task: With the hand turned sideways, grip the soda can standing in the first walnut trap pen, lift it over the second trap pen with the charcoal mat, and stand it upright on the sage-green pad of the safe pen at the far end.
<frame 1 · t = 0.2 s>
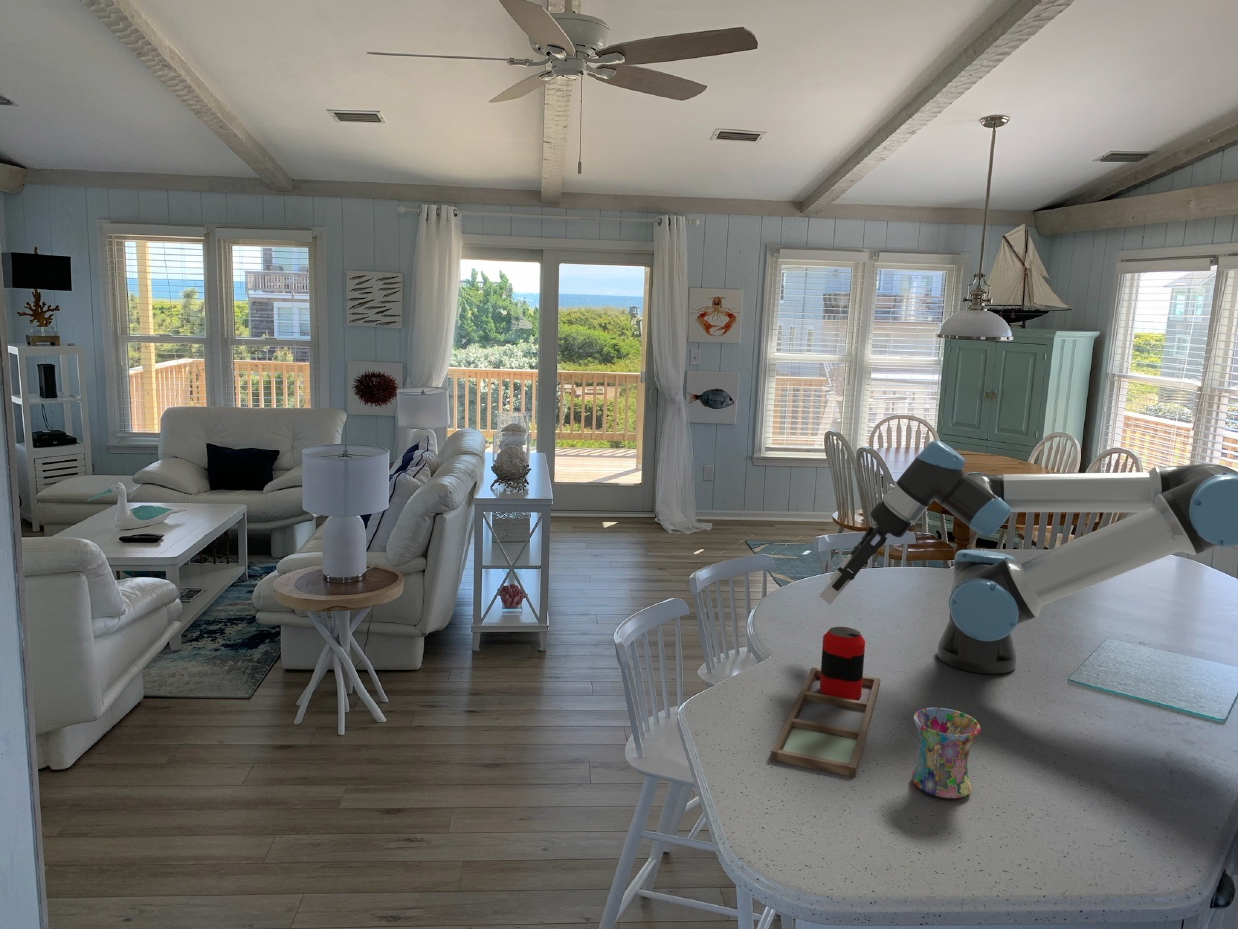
hand: (829, 590, 177), 15 cm above the table, tool tilted 35°, fingers open, 13 cm apart
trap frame: (830, 719, 153), on the table
mug: (938, 792, 131), on the table
soda can: (840, 694, 164), resting in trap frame
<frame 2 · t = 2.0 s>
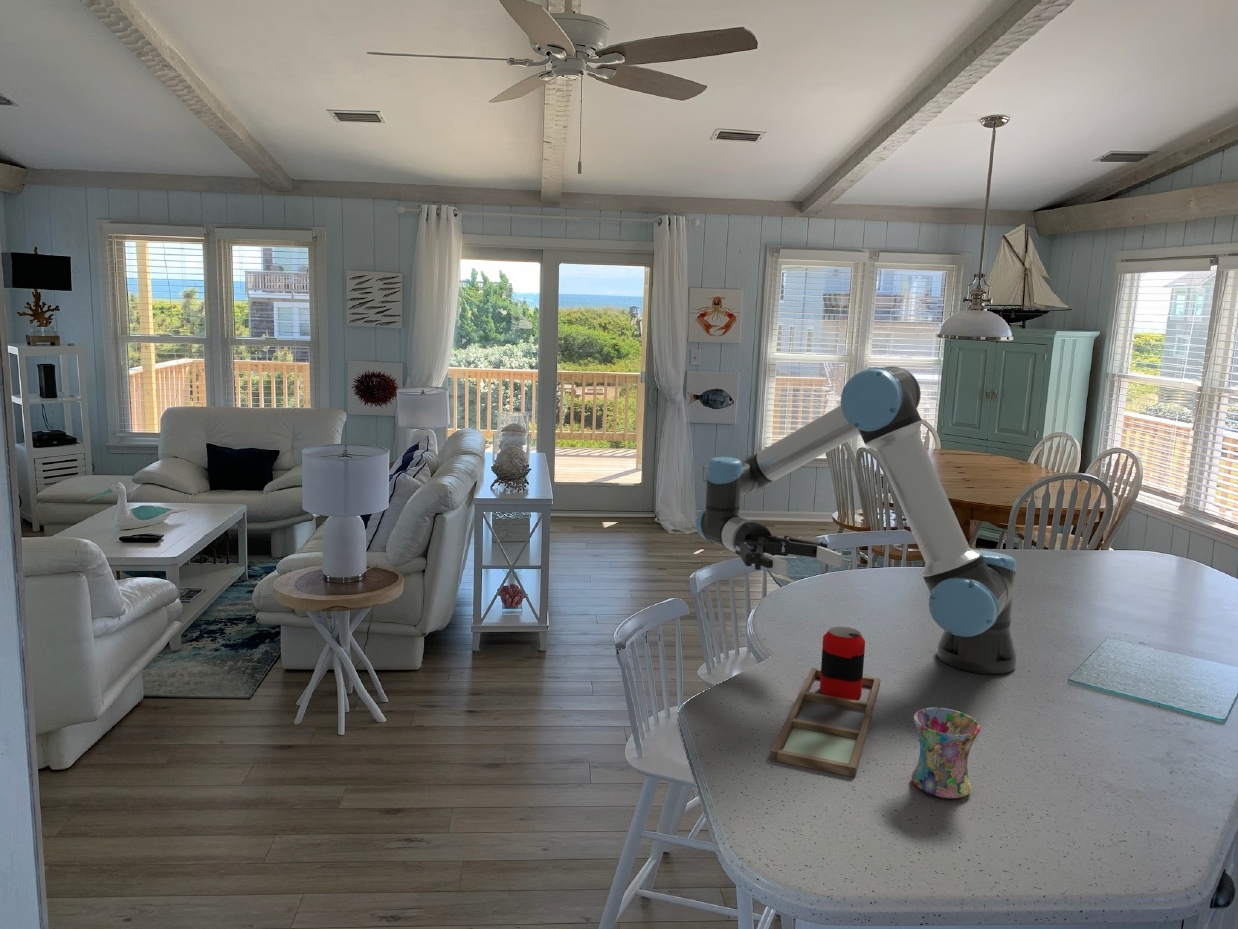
hand: (813, 564, 169), 22 cm above the table, tool horizontal, fingers open, 13 cm apart
nothing on the table moved.
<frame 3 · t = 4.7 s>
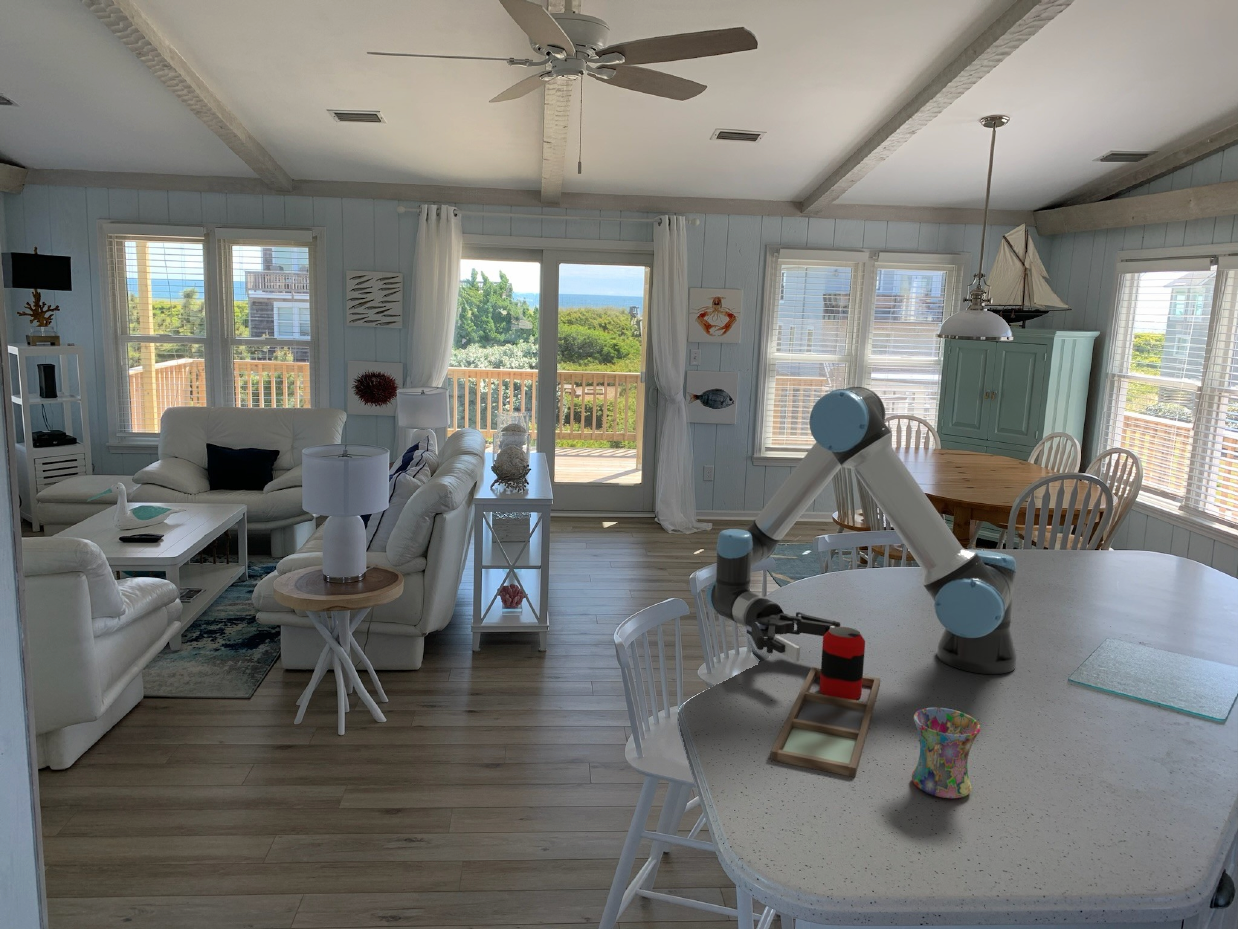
hand: (826, 649, 166), 7 cm above the table, tool horizontal, fingers open, 13 cm apart
nothing on the table moved.
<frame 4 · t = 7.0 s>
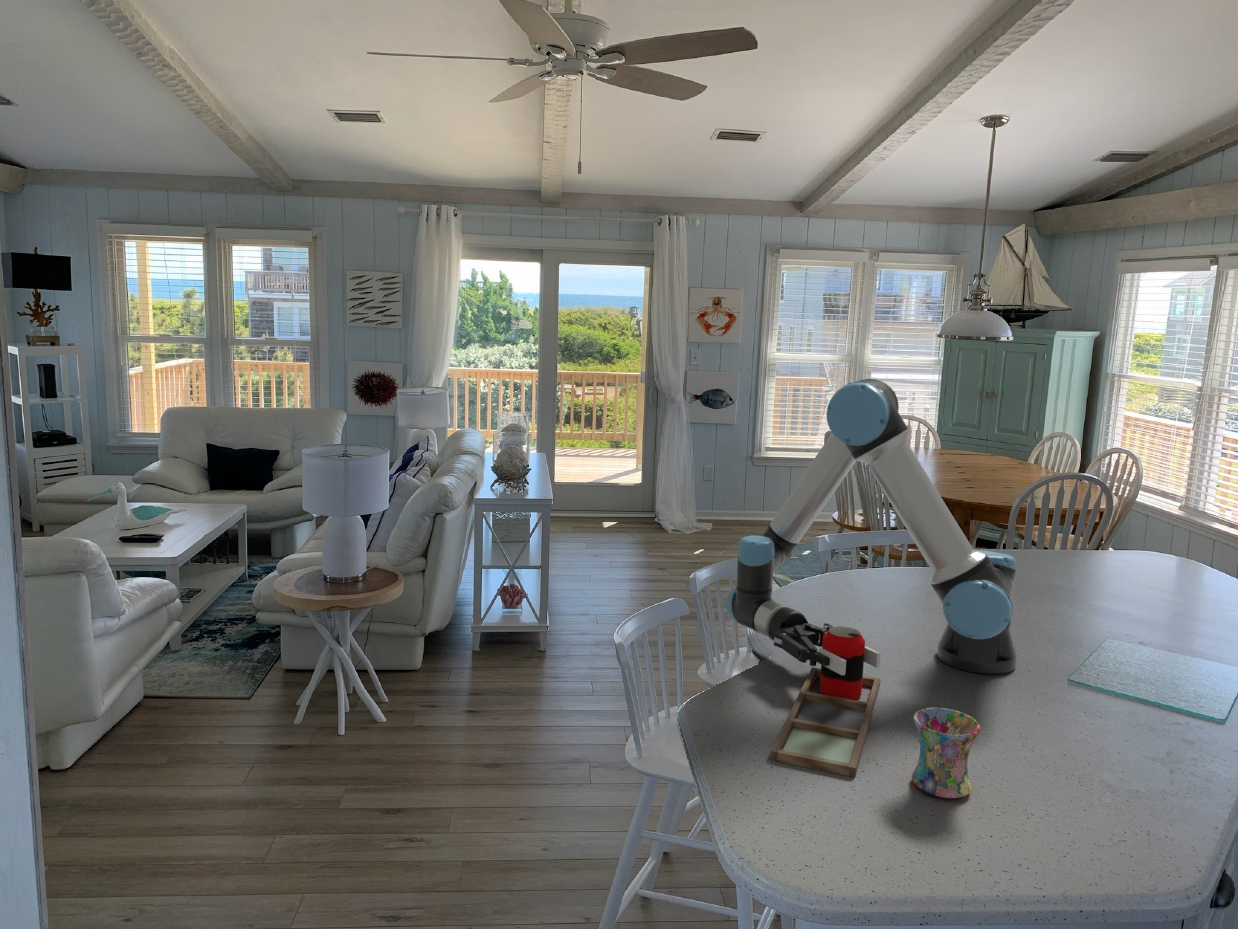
hand: (861, 664, 159), 8 cm above the table, tool horizontal, fingers closed on soda can, 7 cm apart
soda can: (840, 694, 164), resting in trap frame, touching gripper
everything else where it was.
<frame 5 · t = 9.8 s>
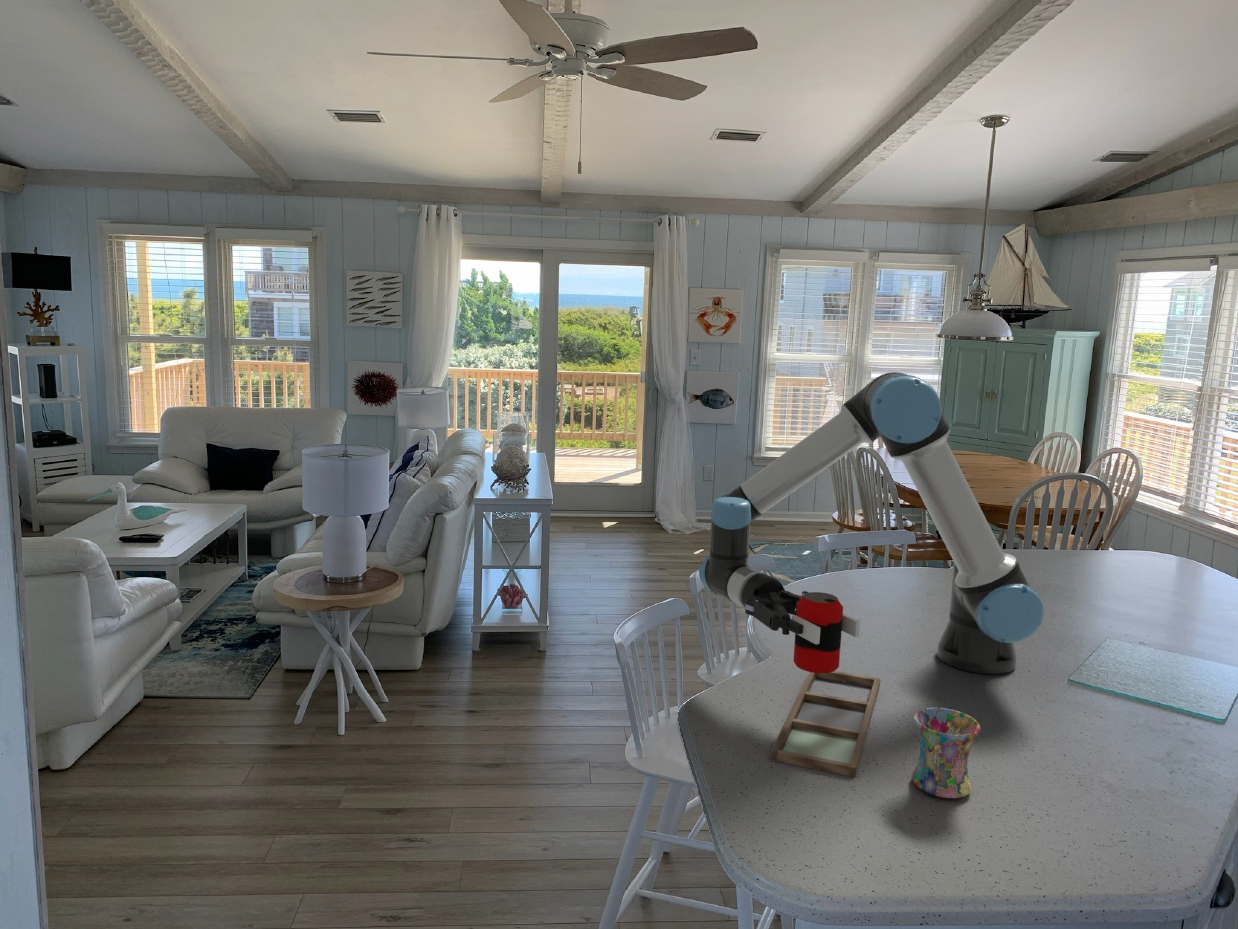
hand: (838, 632, 144), 18 cm above the table, tool horizontal, fingers closed on soda can, 7 cm apart
soda can: (815, 666, 149), point 11 cm above the table, touching gripper
everything else where it was.
when the fingers open (9 cm above the table, at t = 12.8 s): soda can drops 1 cm, resting on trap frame.
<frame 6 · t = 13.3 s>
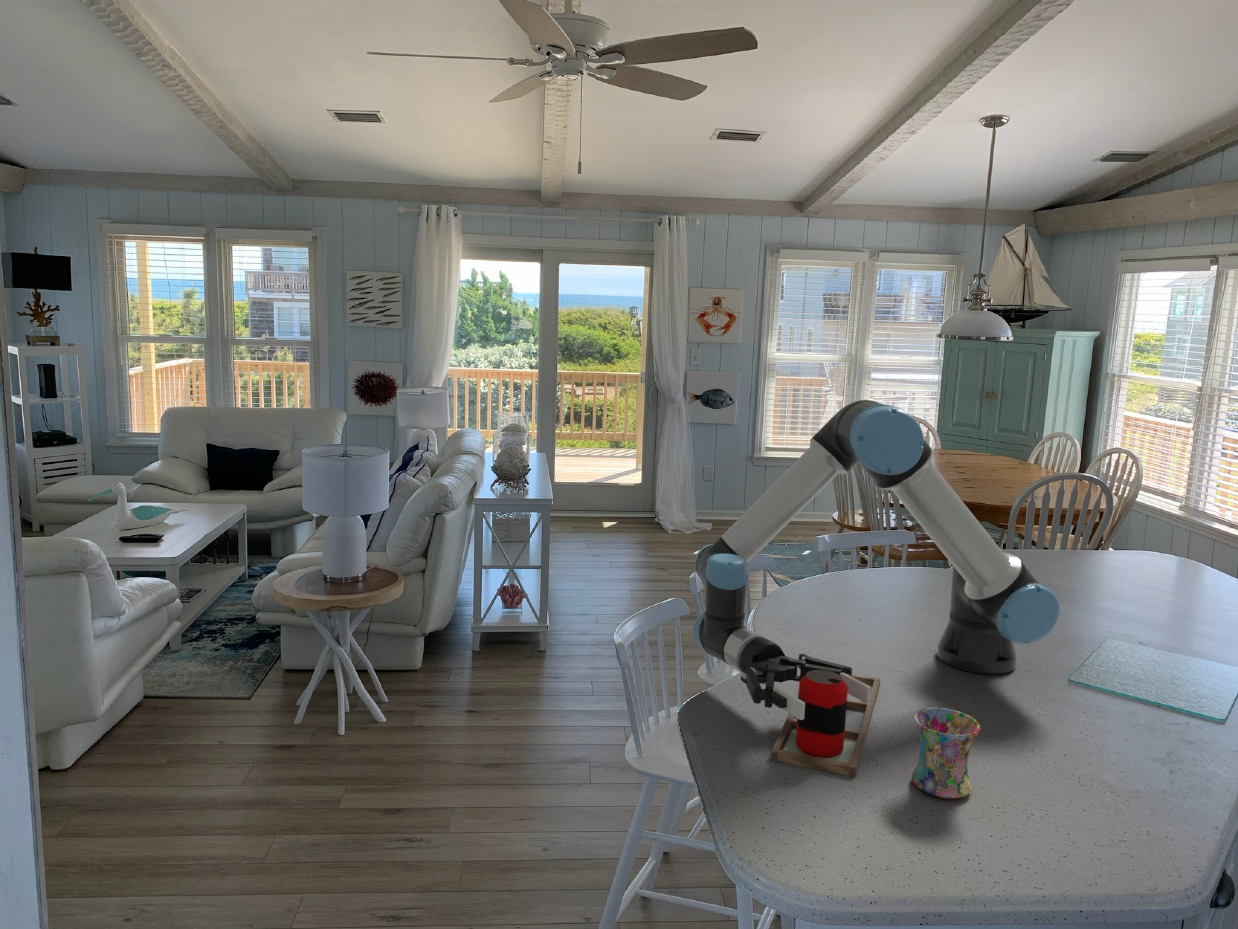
hand: (836, 703, 138), 9 cm above the table, tool horizontal, fingers open, 13 cm apart
soda can: (819, 748, 142), resting on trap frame
everything else where it was.
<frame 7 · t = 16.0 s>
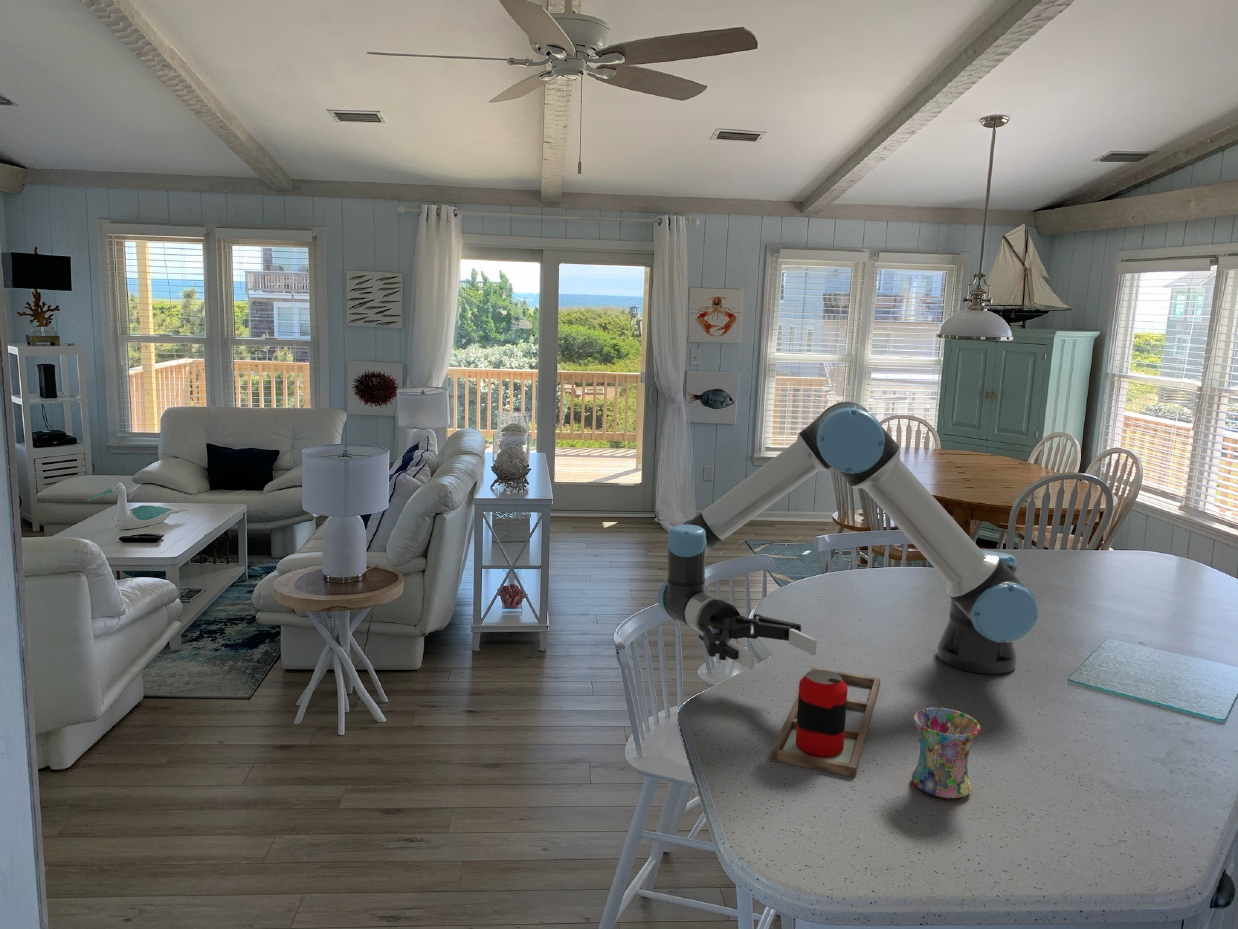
hand: (784, 654, 151), 12 cm above the table, tool horizontal, fingers open, 13 cm apart
nothing on the table moved.
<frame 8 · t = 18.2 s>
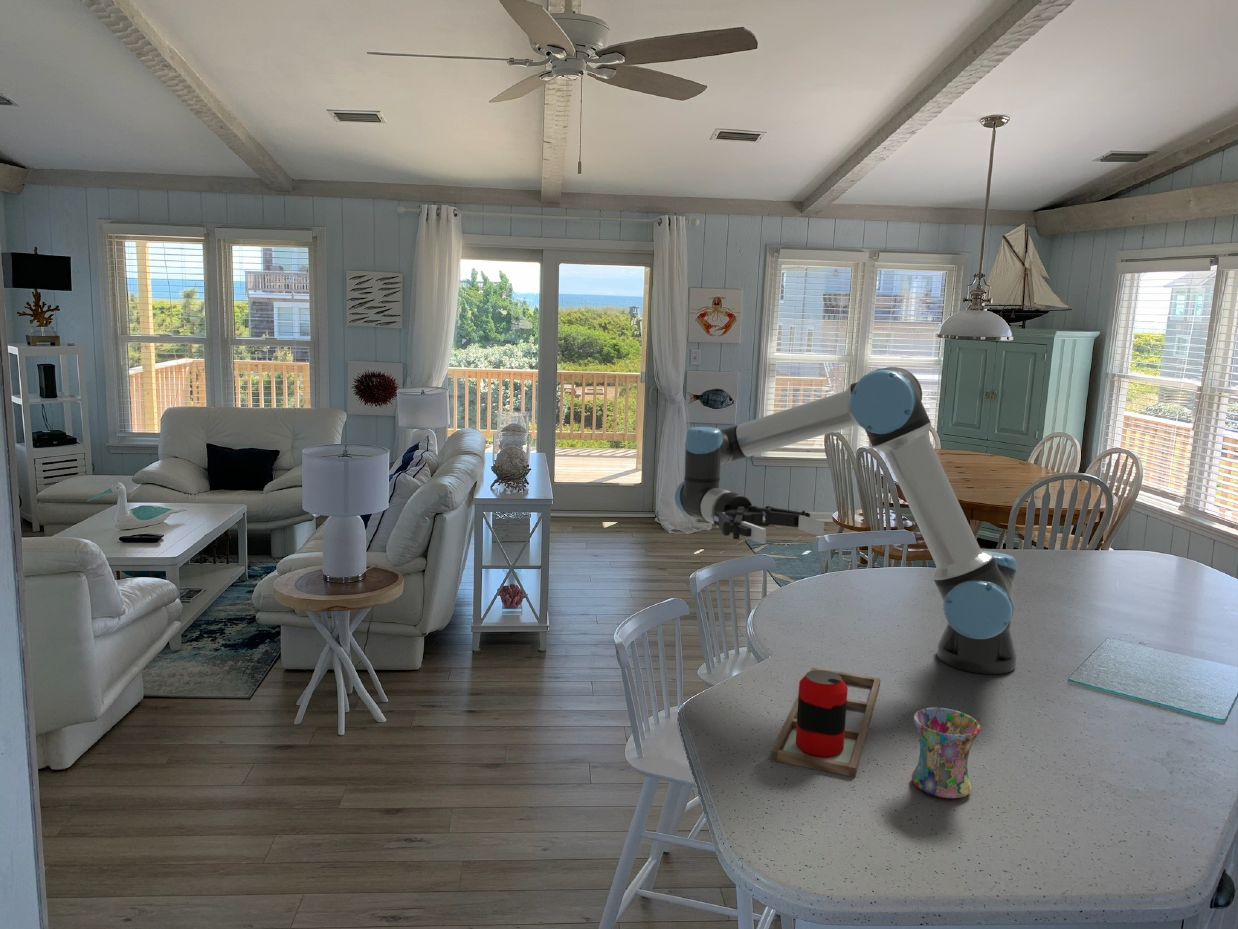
hand: (794, 533, 161), 30 cm above the table, tool horizontal, fingers open, 13 cm apart
nothing on the table moved.
at the end: soda can 0.2 cm from the target spot on the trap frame, point 0.2 cm above the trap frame's base; soda can tilted 0°; the gripper is holding nothing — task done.
